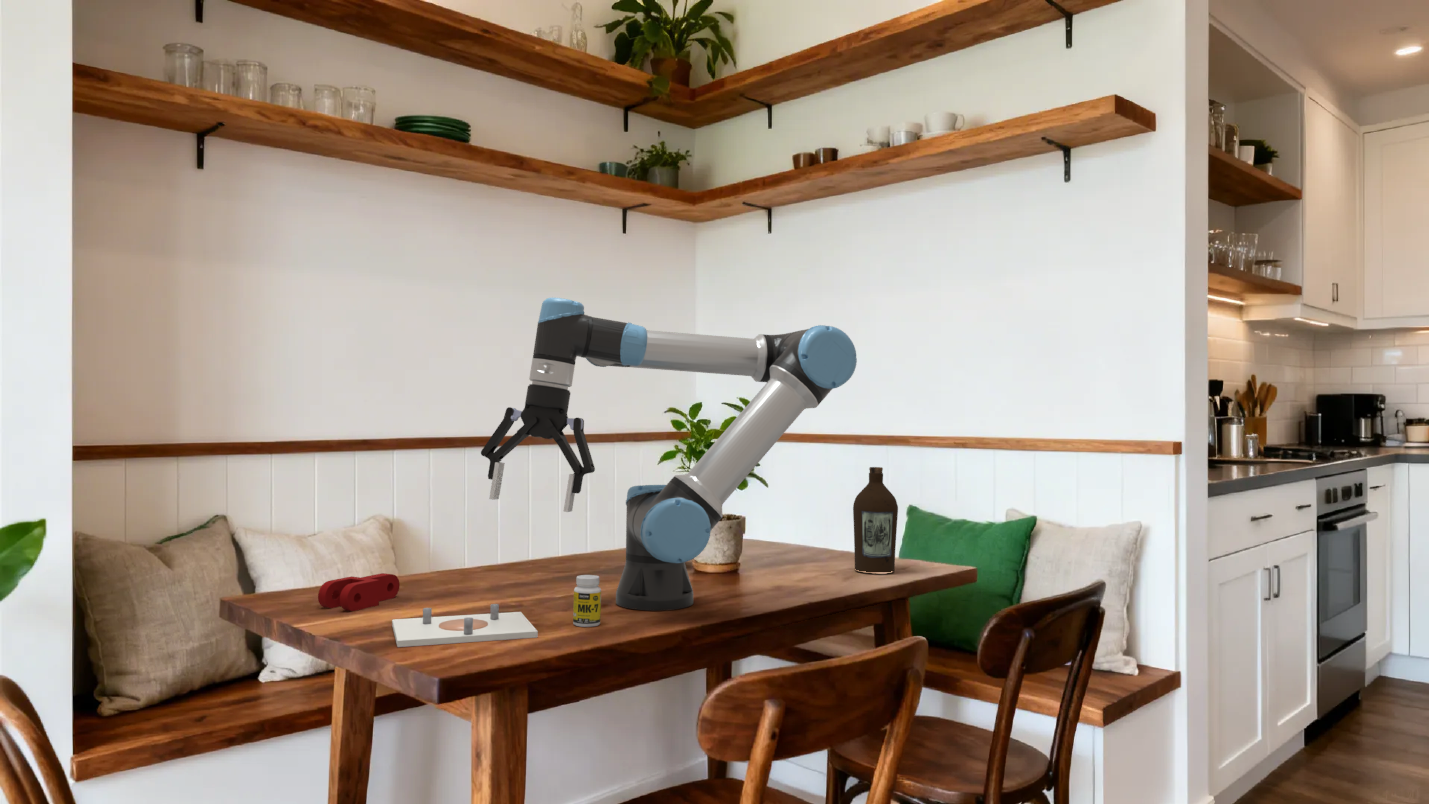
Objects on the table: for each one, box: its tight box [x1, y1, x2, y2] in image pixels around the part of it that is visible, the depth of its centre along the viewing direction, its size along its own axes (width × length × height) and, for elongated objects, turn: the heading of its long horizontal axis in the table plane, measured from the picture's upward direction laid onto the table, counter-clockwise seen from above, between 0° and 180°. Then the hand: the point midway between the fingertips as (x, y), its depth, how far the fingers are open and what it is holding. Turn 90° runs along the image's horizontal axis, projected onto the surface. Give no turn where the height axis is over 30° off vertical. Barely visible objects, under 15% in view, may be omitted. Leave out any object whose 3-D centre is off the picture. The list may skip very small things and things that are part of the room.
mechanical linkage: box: [317, 572, 400, 612], centre depth 183 cm, size 16×7×5 cm, turn 156°
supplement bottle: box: [572, 574, 602, 628], centre depth 168 cm, size 5×5×8 cm
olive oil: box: [852, 466, 899, 572], centre depth 229 cm, size 11×11×25 cm
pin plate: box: [391, 603, 539, 648], centre depth 161 cm, size 22×16×4 cm
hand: (530, 505), depth 168 cm, fingers open, 13 cm apart
